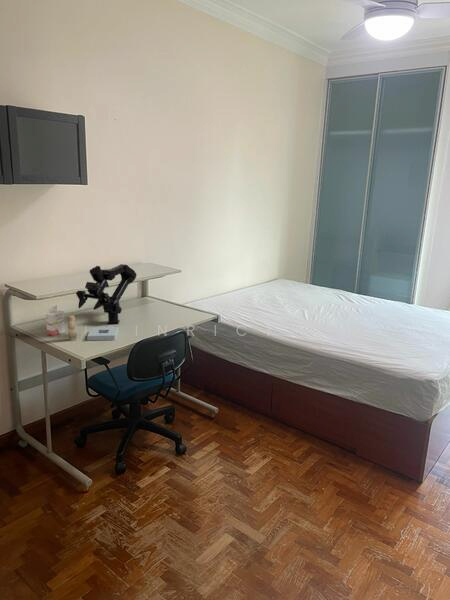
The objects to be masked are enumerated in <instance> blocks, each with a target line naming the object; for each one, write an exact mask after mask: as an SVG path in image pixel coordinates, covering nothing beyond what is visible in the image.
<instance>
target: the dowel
mask: <svg viewBox="0 0 450 600" xmlns="http://www.w3.org/2000/svg"><path fill="white" fill-rule="evenodd" d="M66 317H67V318H66V319H67V333H68V340H69V341H71V342H73V341H76V340H77V333H76V332H77V331H76V330H77V329H76V318H75V317H76V316H75V315H68V316H66Z"/></svg>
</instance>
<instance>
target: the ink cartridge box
mask: <svg viewBox="0 0 450 600" xmlns="http://www.w3.org/2000/svg"><path fill="white" fill-rule="evenodd" d="M45 322H46V323H45V324H46V335H48V336H52V337H56V336H57V335H59V334H62V333H65V331H66V330H65V329H66V327H65V313H64V311H62V310H58V305H57V304H56V305H53V306H50V307H47V308H45Z"/></svg>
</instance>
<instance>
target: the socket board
mask: <svg viewBox="0 0 450 600" xmlns="http://www.w3.org/2000/svg"><path fill="white" fill-rule="evenodd" d="M118 334H119V327H116V326H115V327H113V326H109V327H108V326H107V327H106V326H105V327H91V329H90V330H89V332H88V334H87V337H86V338H87V341H115V340H116V338H117V337H118Z"/></svg>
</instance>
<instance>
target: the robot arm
mask: <svg viewBox="0 0 450 600" xmlns="http://www.w3.org/2000/svg"><path fill="white" fill-rule="evenodd" d="M89 274H90V276H91V278H92V280H93V281H94V282H93V281H92V282H91V281H86V284H85V289H86V290H87V292H86V291H85V290H77V291H76V292H75V295H76V297H77V298H78V309H80V308H81V307H83V306H84V305H85V303H87V300H88V298H89V299H93V300H97V301H96V303H95V305H94V306H93V310H95V311H96V310H98V309H99V308H100V307H102V308H103V312H104V313H106V314H107V318H108V319H107V325H118V324H119V323H120V319H119V314H121V313H122V310H123V309H122V307H121V306H120V300H121V298H122V296H123V295H124V294H125V291H126V289H127V288H128V286H129V285H130V284H132V283H133V282H135V280H136V278H137V273H136V271H135V269H133V268H131V267H130V266H129V265H128V264H119V265H117V266H115V267H111V268H108V269H106V268H105V269H101V265H96V266H95V267H93V268H91V269H90V270H89ZM119 275H120V278H121V279H120V282H119V283H118V285H117V286H116V288H115V290H114V291H113V293H112V294H111V296H110V295H109V294H108V293H107V292H104V290H105V288H109V286H110V285H109V282H108V281H110V282H111V281H113V280H115V278H116V276H119Z"/></svg>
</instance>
